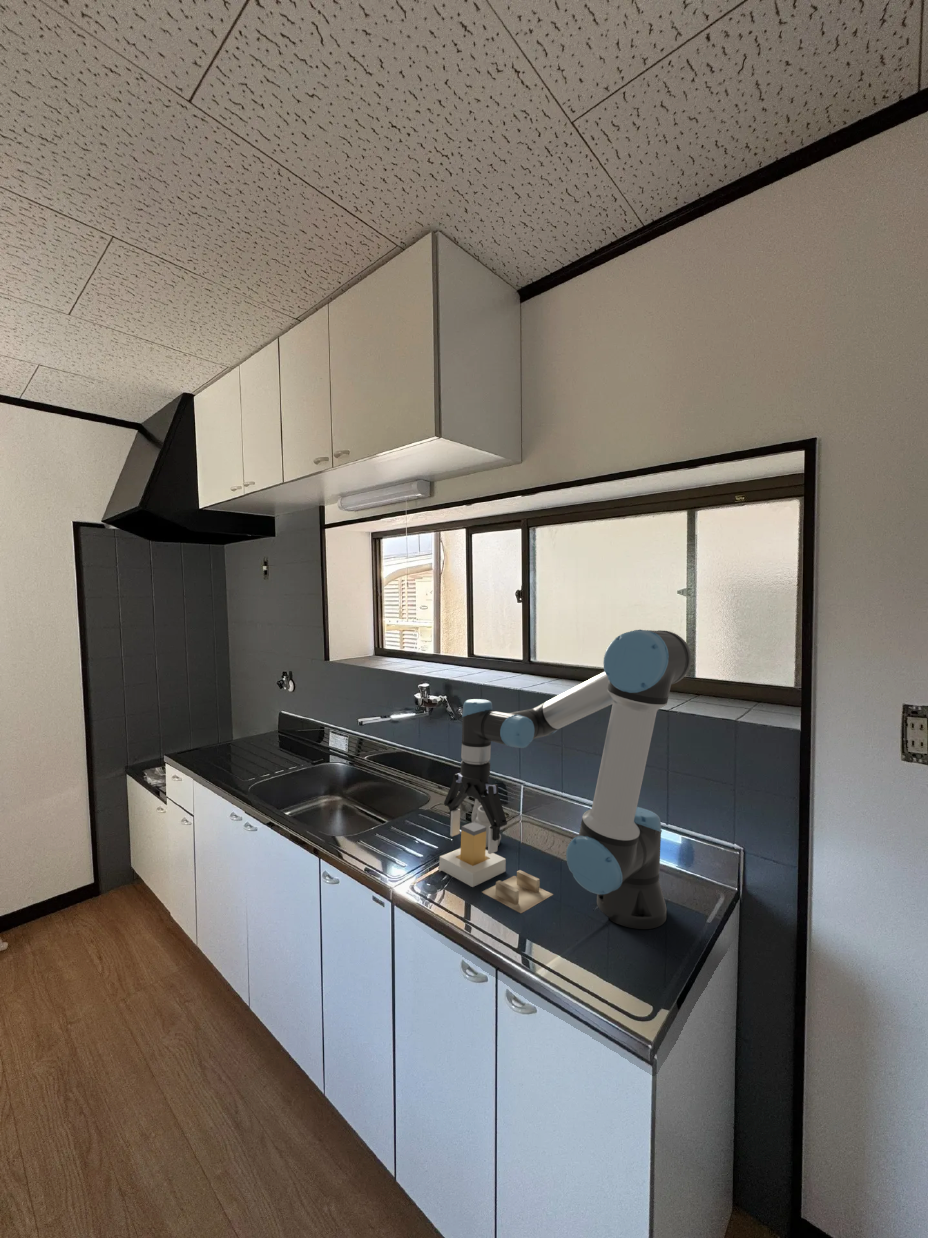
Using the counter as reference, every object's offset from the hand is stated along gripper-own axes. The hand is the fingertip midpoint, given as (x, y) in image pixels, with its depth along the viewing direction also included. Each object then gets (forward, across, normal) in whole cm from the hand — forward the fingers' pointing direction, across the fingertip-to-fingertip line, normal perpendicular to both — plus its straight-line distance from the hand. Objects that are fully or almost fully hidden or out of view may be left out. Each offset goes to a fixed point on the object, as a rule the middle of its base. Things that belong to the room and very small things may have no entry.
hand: (473, 843), depth 135 cm
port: (+8, 0, 0) cm, 8 cm away
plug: (+8, 0, 0) cm, 8 cm away
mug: (+8, +12, -17) cm, 22 cm away
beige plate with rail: (+8, -15, 0) cm, 17 cm away
